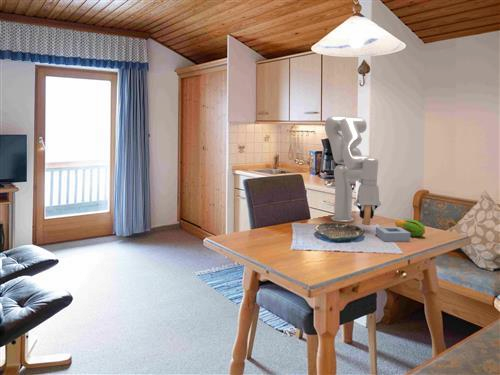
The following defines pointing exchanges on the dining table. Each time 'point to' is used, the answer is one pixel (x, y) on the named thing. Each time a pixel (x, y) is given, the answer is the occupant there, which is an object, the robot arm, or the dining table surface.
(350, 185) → the robot arm
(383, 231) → the socket block
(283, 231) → the dining table surface
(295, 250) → the dining table surface
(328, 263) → the dining table surface
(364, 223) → the peg
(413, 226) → the corn
